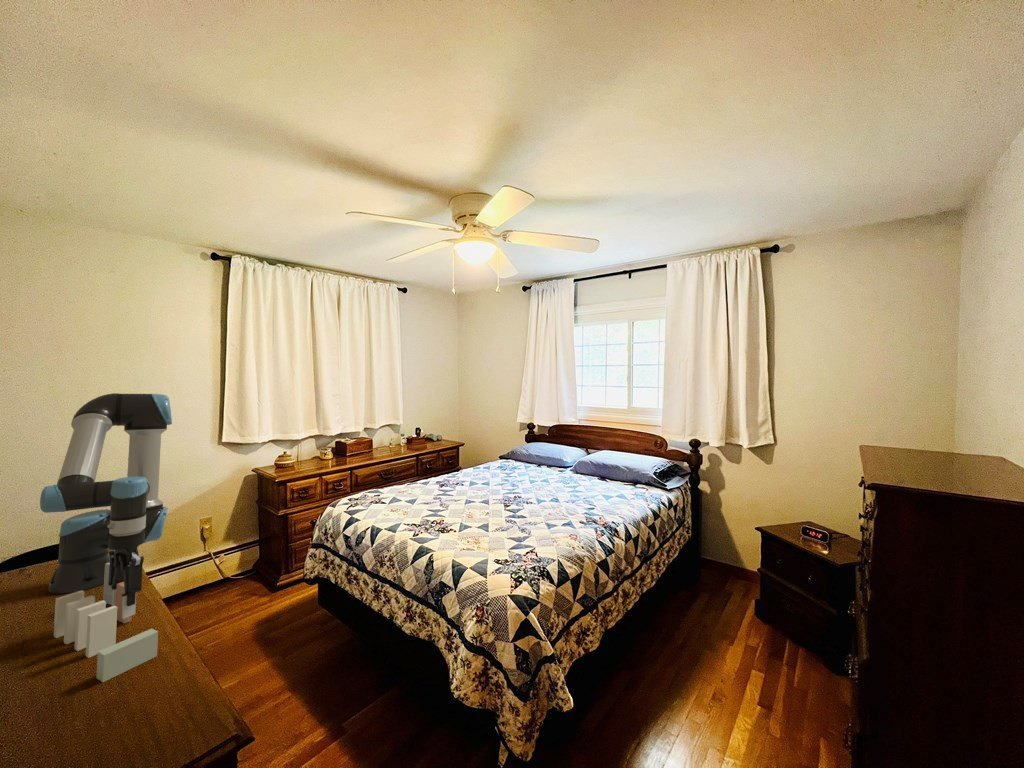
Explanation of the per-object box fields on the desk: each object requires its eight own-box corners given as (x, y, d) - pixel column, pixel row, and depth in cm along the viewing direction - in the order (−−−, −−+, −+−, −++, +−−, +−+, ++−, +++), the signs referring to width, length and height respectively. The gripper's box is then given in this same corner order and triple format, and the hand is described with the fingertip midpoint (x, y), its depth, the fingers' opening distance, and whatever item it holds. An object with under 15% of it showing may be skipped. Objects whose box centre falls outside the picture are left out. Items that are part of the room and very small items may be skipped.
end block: (96, 678, 90) (97, 651, 90) (150, 652, 99) (151, 628, 100) (102, 682, 89) (104, 655, 89) (157, 656, 98) (158, 631, 98)
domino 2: (63, 642, 102) (65, 603, 103) (90, 632, 107) (92, 595, 107) (66, 644, 102) (68, 605, 102) (93, 633, 106) (95, 596, 107)
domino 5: (123, 623, 111) (125, 587, 111) (114, 619, 113) (116, 583, 113) (131, 620, 112) (133, 585, 113) (122, 616, 115) (124, 581, 115)
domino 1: (53, 636, 105) (55, 598, 105) (79, 626, 109) (81, 590, 110) (56, 638, 104) (58, 599, 105) (82, 628, 109) (84, 591, 109)
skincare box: (131, 599, 124) (133, 561, 124) (114, 606, 120) (116, 566, 120) (119, 596, 126) (121, 558, 126) (102, 602, 122) (104, 563, 122)
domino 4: (85, 656, 98) (87, 615, 98) (112, 644, 102) (114, 605, 102) (88, 657, 97) (90, 616, 97) (115, 646, 102) (117, 607, 102)
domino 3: (74, 649, 100) (76, 609, 100) (101, 638, 105) (103, 600, 105) (77, 651, 99) (79, 610, 100) (104, 639, 104) (106, 601, 104)
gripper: (94, 530, 114) (90, 612, 113) (126, 541, 106) (122, 629, 106) (128, 523, 120) (124, 600, 120) (160, 533, 113) (156, 615, 113)
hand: (123, 613), depth 113 cm, fingers closed on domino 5, 5 cm apart
